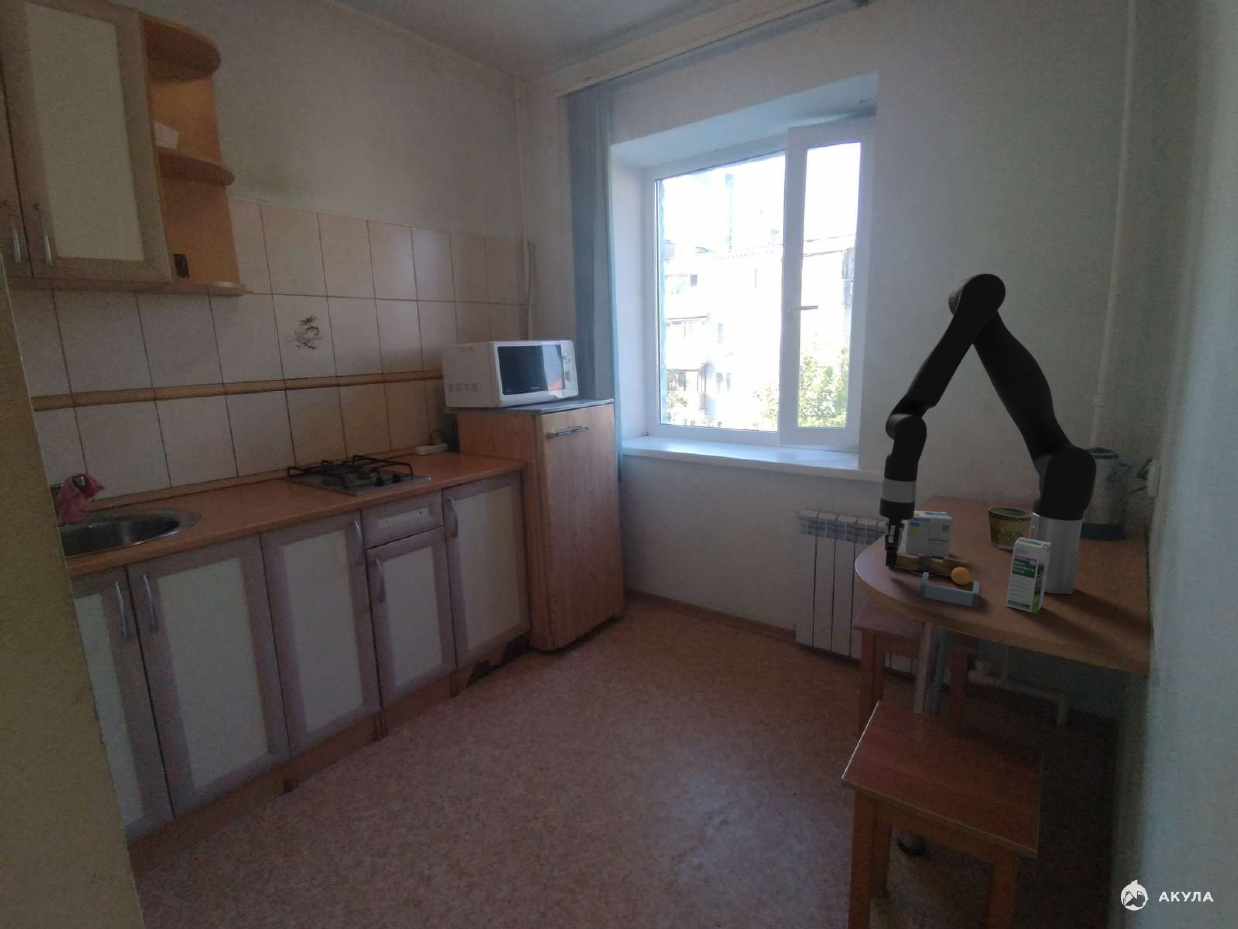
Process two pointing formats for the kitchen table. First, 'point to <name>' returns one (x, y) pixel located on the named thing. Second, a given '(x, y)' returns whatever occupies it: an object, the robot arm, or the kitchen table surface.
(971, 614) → the kitchen table surface
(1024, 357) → the robot arm
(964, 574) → the ball
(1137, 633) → the kitchen table surface
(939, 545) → the light bulb box
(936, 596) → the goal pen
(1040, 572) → the syrup box
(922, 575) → the pivot base
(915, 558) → the tan wooden bar
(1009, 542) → the ceramic cup
